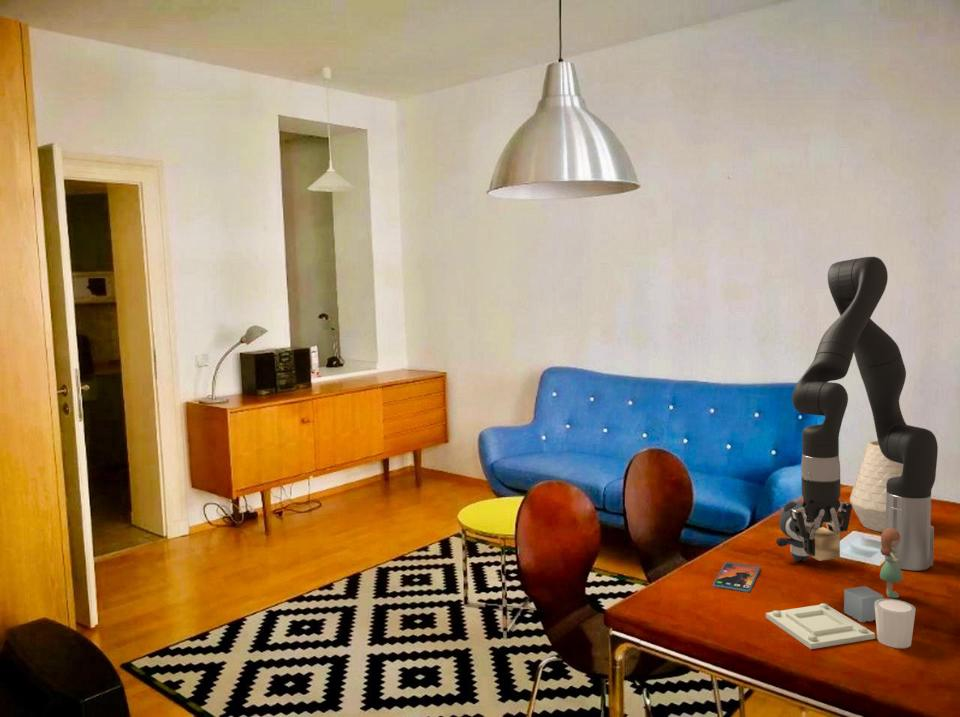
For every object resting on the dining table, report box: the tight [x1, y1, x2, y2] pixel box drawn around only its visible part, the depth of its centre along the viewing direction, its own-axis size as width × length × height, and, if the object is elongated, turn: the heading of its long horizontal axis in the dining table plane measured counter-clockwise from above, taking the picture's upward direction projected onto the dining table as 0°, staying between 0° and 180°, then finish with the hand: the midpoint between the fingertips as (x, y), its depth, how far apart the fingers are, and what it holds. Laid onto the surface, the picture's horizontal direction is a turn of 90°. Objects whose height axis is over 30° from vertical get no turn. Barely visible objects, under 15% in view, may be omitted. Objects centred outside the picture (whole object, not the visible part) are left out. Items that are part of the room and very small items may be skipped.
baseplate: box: [765, 602, 876, 650], centre depth 149 cm, size 14×14×2 cm
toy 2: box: [879, 528, 904, 599], centre depth 161 cm, size 13×4×15 cm, turn 163°
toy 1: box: [775, 500, 824, 562], centre depth 182 cm, size 12×10×15 cm
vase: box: [849, 439, 903, 533], centre depth 205 cm, size 18×17×23 cm
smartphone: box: [712, 561, 761, 594], centre depth 175 cm, size 8×1×15 cm
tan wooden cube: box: [804, 526, 841, 562], centre depth 161 cm, size 5×5×5 cm
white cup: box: [875, 598, 916, 649], centre depth 142 cm, size 7×7×7 cm
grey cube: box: [843, 585, 884, 623], centre depth 153 cm, size 5×5×5 cm
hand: (821, 552), depth 161 cm, fingers closed on tan wooden cube, 5 cm apart
